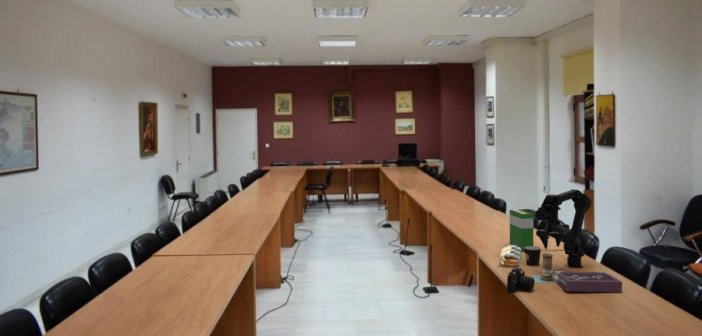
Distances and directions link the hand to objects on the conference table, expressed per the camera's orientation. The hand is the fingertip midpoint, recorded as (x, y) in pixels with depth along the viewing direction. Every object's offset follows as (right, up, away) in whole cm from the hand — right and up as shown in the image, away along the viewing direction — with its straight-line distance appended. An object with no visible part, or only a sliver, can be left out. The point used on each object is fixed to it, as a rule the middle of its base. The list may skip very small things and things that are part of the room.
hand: (552, 247), depth 270 cm
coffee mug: (-5, -12, +15) cm, 20 cm away
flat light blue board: (-8, -14, -15) cm, 22 cm away
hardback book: (+1, -9, +53) cm, 54 cm away
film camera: (-25, -16, -26) cm, 40 cm away
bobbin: (-8, -14, -15) cm, 22 cm away
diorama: (-15, -13, +21) cm, 29 cm away
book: (+6, -15, -27) cm, 31 cm away
